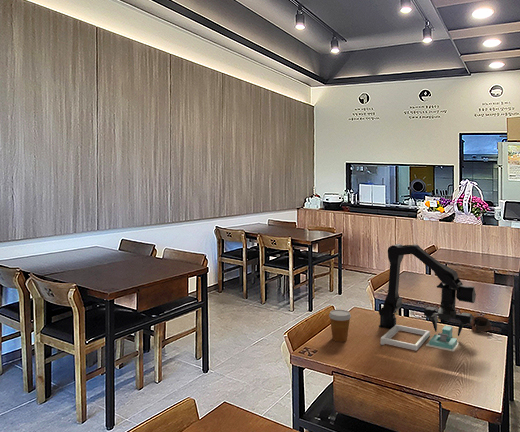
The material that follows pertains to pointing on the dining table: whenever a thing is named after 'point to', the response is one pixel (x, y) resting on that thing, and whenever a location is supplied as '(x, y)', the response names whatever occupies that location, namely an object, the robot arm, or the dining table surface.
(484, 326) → the pottery mug
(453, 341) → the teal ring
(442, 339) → the stake board
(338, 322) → the disposable coffee cup
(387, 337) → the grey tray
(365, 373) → the dining table surface
